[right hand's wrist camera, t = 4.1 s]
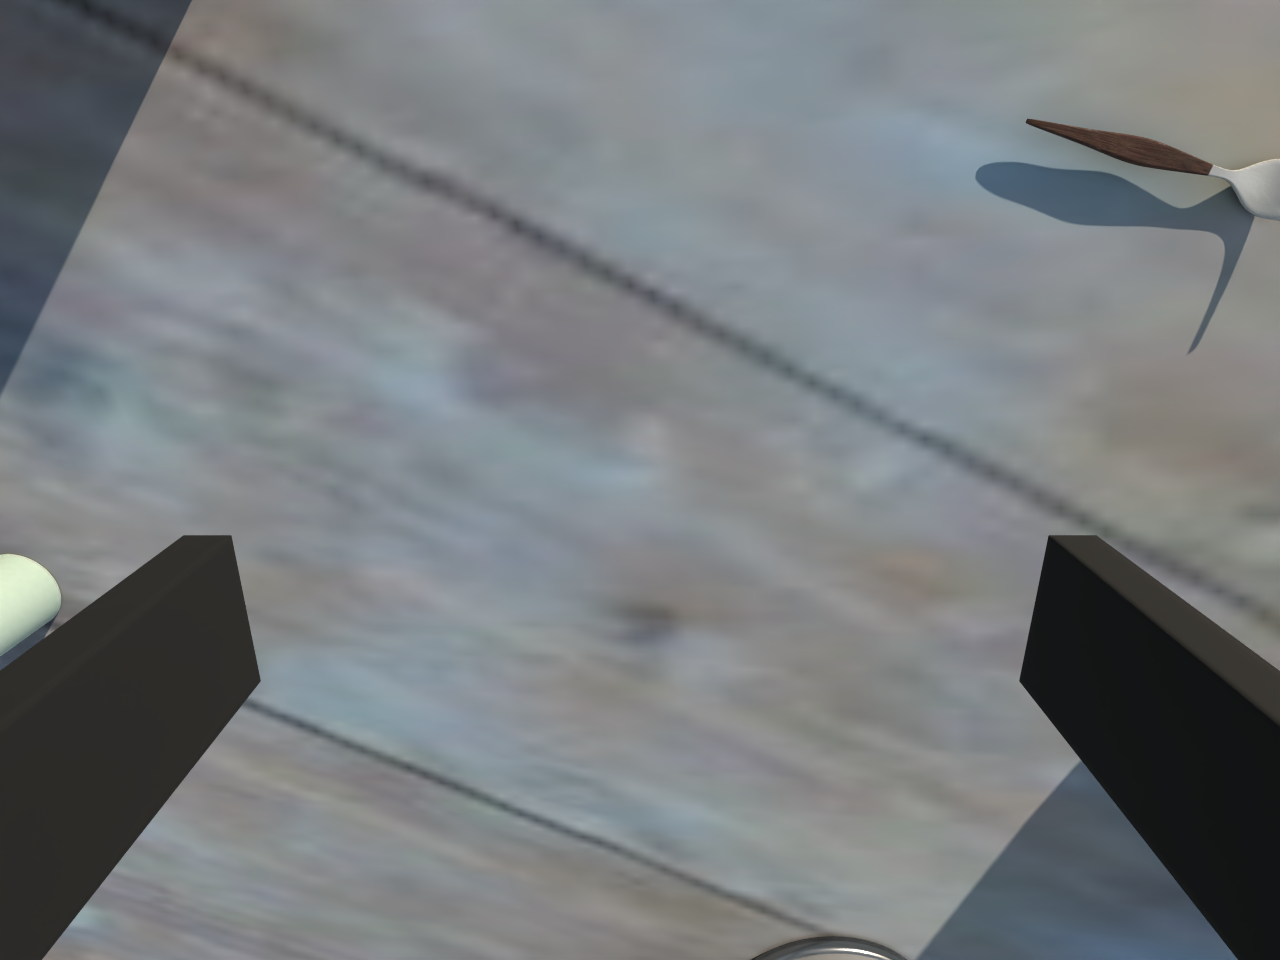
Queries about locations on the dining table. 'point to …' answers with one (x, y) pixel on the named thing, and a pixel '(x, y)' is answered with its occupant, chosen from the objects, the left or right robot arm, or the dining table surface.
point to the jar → (24, 599)
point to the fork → (1182, 164)
